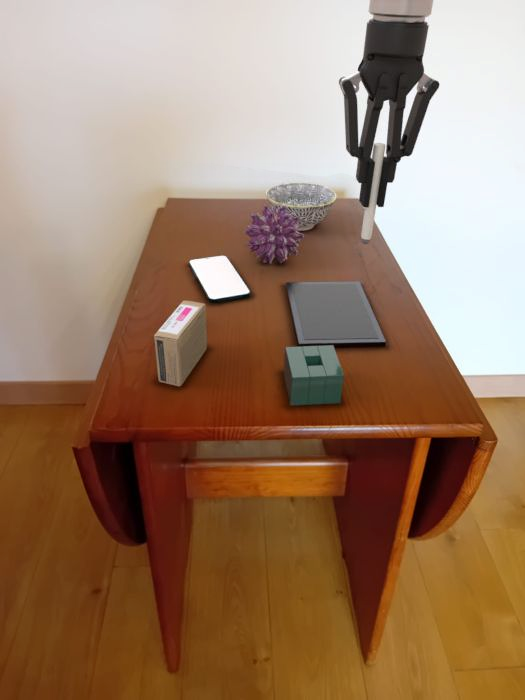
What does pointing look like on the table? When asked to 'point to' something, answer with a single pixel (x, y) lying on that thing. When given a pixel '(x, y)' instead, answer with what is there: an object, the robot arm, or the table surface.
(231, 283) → the smartphone
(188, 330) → the ink box
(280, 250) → the flower
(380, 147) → the stylus
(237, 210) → the table surface
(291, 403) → the pen block
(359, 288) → the tablet
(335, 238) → the table surface
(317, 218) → the bowl
